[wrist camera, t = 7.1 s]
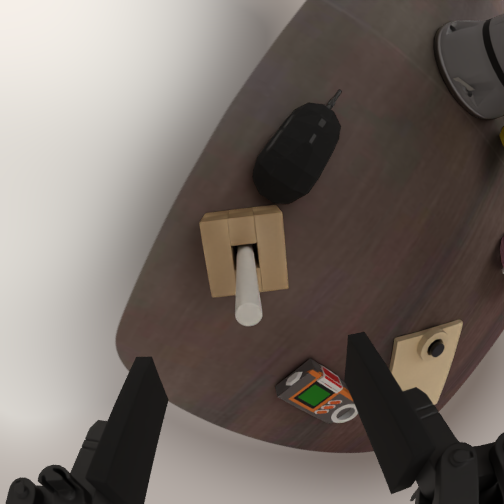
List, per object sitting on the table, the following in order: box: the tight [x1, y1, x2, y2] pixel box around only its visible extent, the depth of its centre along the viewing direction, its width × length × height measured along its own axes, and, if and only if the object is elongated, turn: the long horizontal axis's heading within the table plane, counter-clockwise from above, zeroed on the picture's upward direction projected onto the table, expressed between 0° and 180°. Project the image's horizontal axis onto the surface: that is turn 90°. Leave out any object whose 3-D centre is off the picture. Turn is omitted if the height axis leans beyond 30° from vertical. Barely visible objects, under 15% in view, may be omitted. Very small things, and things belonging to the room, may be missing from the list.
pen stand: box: [199, 205, 289, 298], centre depth 30 cm, size 8×8×5 cm
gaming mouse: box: [253, 89, 342, 204], centre depth 27 cm, size 6×15×4 cm, turn 146°
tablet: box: [389, 319, 463, 405], centre depth 39 cm, size 13×20×2 cm, turn 7°
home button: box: [428, 340, 445, 357], centre depth 35 cm, size 2×2×1 cm
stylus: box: [235, 244, 262, 326], centre depth 25 cm, size 2×2×16 cm
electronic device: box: [275, 358, 358, 424], centre depth 38 cm, size 7×3×15 cm
